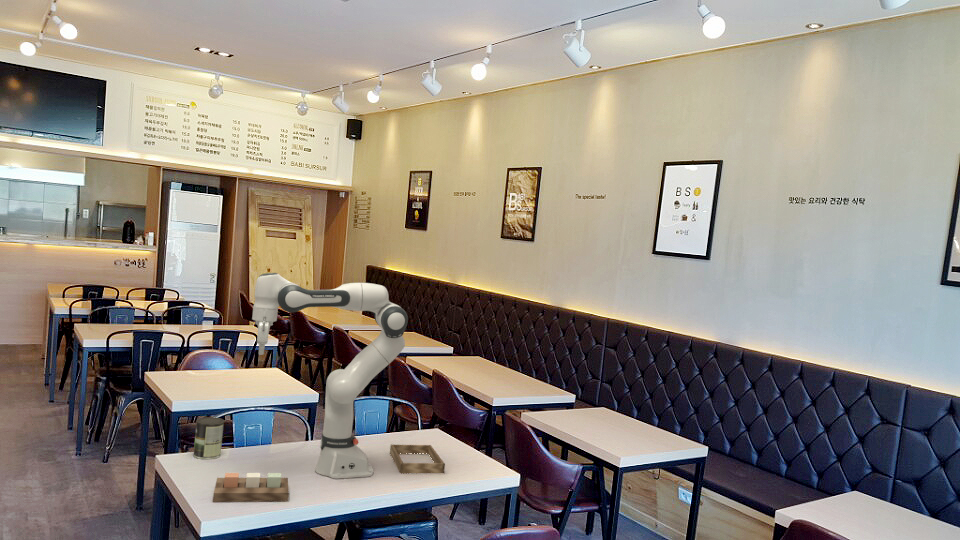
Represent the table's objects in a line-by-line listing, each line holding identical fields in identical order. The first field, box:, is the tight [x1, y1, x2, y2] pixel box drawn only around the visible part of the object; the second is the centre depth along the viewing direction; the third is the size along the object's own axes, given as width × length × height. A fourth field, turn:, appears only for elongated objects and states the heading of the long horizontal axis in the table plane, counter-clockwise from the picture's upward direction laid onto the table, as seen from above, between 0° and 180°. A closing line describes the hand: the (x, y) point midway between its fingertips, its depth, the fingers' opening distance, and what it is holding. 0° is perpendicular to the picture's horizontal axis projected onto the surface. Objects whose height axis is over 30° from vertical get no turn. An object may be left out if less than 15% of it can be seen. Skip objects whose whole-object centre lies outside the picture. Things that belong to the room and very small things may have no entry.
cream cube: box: [245, 472, 261, 488], centre depth 236 cm, size 4×4×4 cm
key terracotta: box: [224, 472, 240, 488], centre depth 233 cm, size 4×4×4 cm
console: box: [212, 477, 290, 503], centre depth 236 cm, size 24×15×3 cm, turn 107°
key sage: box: [266, 472, 282, 488], centre depth 238 cm, size 4×4×4 cm
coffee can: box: [192, 416, 225, 460], centre depth 270 cm, size 10×10×14 cm
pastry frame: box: [389, 444, 446, 475], centre depth 287 cm, size 18×26×4 cm
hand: (261, 352), depth 255 cm, fingers open, 8 cm apart
